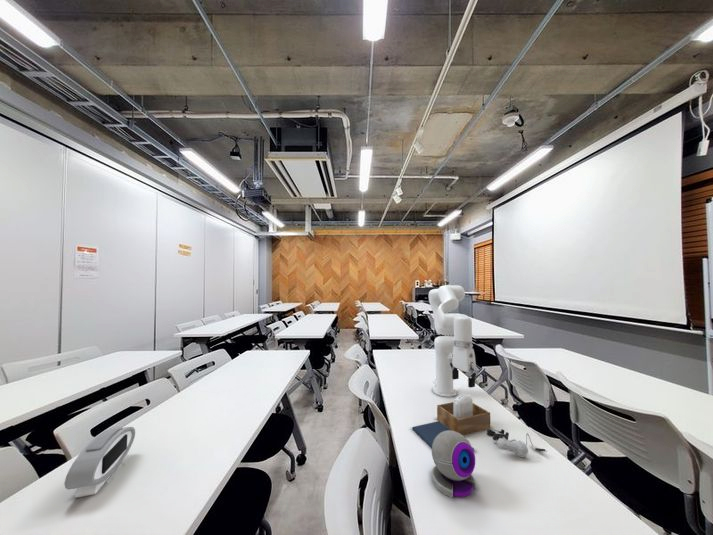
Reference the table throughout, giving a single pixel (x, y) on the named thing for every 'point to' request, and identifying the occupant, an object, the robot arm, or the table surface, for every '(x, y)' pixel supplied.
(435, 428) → the mat
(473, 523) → the table surface
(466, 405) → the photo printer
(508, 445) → the clip-on lamp
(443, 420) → the wooden box
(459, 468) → the webcam
